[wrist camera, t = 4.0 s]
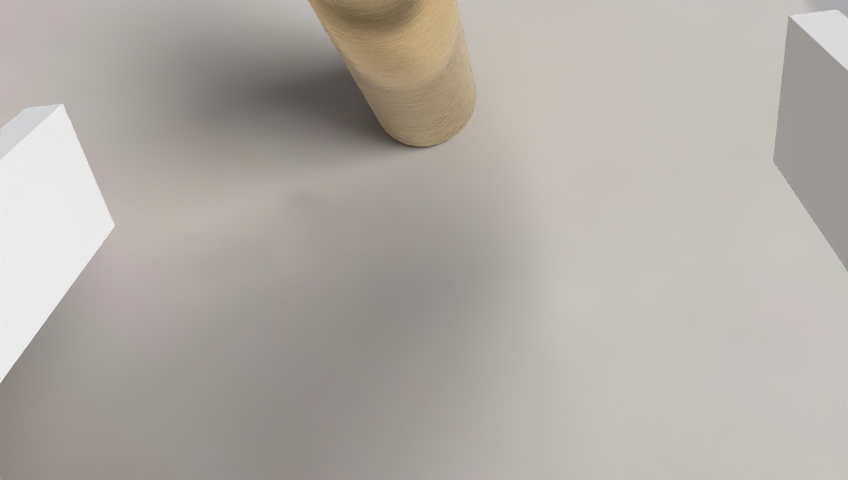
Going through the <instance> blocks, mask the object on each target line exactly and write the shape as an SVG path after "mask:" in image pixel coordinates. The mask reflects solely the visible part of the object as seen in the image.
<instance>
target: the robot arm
mask: <svg viewBox="0 0 848 480" xmlns="http://www.w3.org/2000/svg"><path fill="white" fill-rule="evenodd" d="M773 161H774V163H775V164H776V166H777V167H778V169H779V170H780V172H781V173H782V175H783V176H784V178H785V179H786V181H787V182H788V184H789V185H790V187H791V188H792V190H793V191H794V192H795V194H796V195H797V197H798V198H799V200H800V201H801V203H802V204H803V206H804V207H805V209H806V210H807V212H808V213H809V215H810V216H811V218H812V219H813V221H814V222H815V224H816V225H817V226H818V228H819V229H820V231H821V232H822V234H823V235H824V237H825V238H826V240H827V241H828V243H829V244H830V246H831V247H832V249H833V250H834V252H835V253H836V255H837V256H838V258H839V259H840V260H841V262H842V263H843V265H844V266H845V268H846V269H847V271H848V18H847V17H845V16H844V15H843V14H842V13H840V12H839V11H838V10H830V11H822V12H814V13H805V14H797V15H789V17H788V27H787V36H786V45H785V55H784V64H783V74H782V83H781V92H780V102H779V111H778V121H777V130H776V139H775V149H774V158H773ZM114 226H115V225H114V223H113V220H112V218H111V216H110V213H109V211H108V209H107V206H106V204H105V202H104V199H103V197H102V195H101V192H100V190H99V188H98V185H97V183H96V181H95V178H94V176H93V174H92V171H91V169H90V166H89V164H88V162H87V159H86V157H85V155H84V152H83V150H82V148H81V145H80V143H79V141H78V138H77V136H76V134H75V131H74V129H73V127H72V124H71V122H70V119H69V117H68V115H67V112H66V110H65V108H64V105H63V104H54V105H46V106H38V107H30V108H25V109H24V110H22V111H21V112H20V113H19V114H18V115H17V116H15V117H14V118H13V119H12V120H11V121H9V122H8V123H7V124H6V125H5V126H3V127H2V128H1V129H0V383H1V381H2V380H3V379H4V377H5V376H6V374H7V373H8V372H9V370H10V369H11V368H12V366H13V365H14V363H15V362H16V361H17V359H18V358H19V357H20V355H21V354H22V352H23V351H24V350H25V348H26V347H27V346H28V344H29V343H30V342H31V340H32V339H33V337H34V336H35V335H36V333H37V332H38V331H39V329H40V328H41V326H42V325H43V324H44V322H45V321H46V320H47V318H48V317H49V315H50V314H51V313H52V311H53V310H54V309H55V307H56V306H57V304H58V303H59V302H60V300H61V299H62V298H63V296H64V295H65V294H66V292H67V291H68V289H69V288H70V287H71V285H72V284H73V283H74V281H75V280H76V278H77V277H78V276H79V274H80V273H81V272H82V270H83V269H84V267H85V266H86V265H87V263H88V262H89V261H90V259H91V258H92V256H93V255H94V254H95V252H96V251H97V250H98V248H99V247H100V246H101V244H102V243H103V241H104V240H105V239H106V237H107V236H108V235H109V233H110V232H111V230H112V229H113V228H114Z"/></svg>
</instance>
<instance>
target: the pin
mask: <svg viewBox="0 0 848 480" xmlns="http://www.w3.org/2000/svg"><path fill="white" fill-rule="evenodd" d="M308 1H309V3H310V5H311V7H312V8H313V10H314V12H315V13H316V15H317V17H318V19H319V20H320V22H321V24H322V25H323V27H324V29H325V30H326V32H327V34H328V36H329V37H330V39H331V41H332V42H333V44H334V46H335V48H336V49H337V51H338V53H339V54H340V56H341V58H342V60H343V61H344V63H345V65H346V66H347V68H348V70H349V71H350V73H351V75H352V77H353V78H354V80H355V82H356V83H357V85H358V87H359V89H360V90H361V92H362V94H363V95H364V97H365V99H366V101H367V102H368V104H369V106H370V107H371V109H372V111H373V112H374V114H375V116H376V118H377V119H378V121H379V123H380V124H381V126H382V127H383V129H384V130H385V131H386V132H387V133H388V134H389V135H390V136H392V137H393V138H394V139H396V140H398V141H400V142H402V143H405V144H407V145H412V146H420V147H422V146H432V145H436V144H440V143H442V142H444V141H447V140H448V139H450V138H452V137H453V136H455V135H456V134H457V133H458V132H459V131H460V130H461V129H462V128H463V127H464V126H465V125H466V123H467V122H468V120H469V119H470V117H471V115H472V112H473V109H474V106H475V100H476V90H475V84H474V79H473V74H472V70H471V65H470V60H469V55H468V51H467V46H466V41H465V36H464V32H463V27H462V22H461V17H460V13H459V8H458V3H457V0H308Z"/></svg>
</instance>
